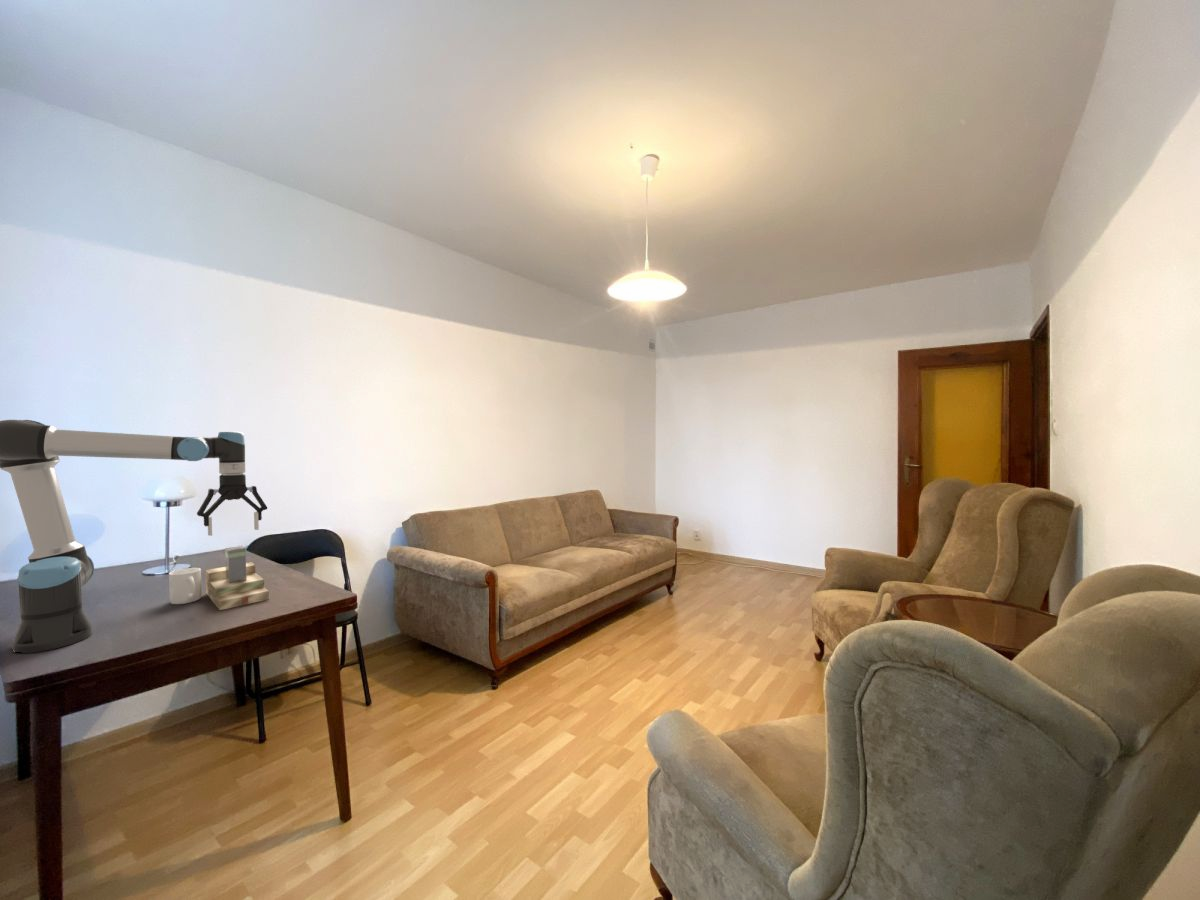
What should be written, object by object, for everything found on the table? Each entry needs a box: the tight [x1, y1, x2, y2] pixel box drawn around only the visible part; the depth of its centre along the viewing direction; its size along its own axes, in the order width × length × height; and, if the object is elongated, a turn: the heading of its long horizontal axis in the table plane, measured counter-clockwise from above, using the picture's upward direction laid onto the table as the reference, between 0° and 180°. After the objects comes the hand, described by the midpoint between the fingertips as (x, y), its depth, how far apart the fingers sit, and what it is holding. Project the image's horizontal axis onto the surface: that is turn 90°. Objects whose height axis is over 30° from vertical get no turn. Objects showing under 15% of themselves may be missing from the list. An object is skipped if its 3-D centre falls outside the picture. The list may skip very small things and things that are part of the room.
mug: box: [168, 567, 203, 605], centre depth 169 cm, size 9×12×11 cm
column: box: [224, 545, 247, 584], centre depth 173 cm, size 5×5×12 cm
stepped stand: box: [205, 561, 270, 611], centre depth 173 cm, size 14×24×9 cm, turn 48°
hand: (233, 532), depth 173 cm, fingers open, 13 cm apart
